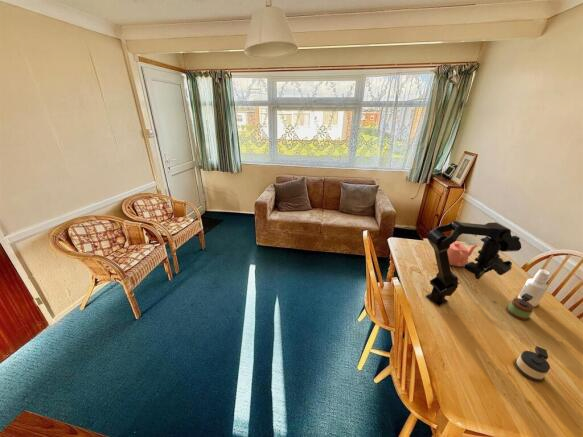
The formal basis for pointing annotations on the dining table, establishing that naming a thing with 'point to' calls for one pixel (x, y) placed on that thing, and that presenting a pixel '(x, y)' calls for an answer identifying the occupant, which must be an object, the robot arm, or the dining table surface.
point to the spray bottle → (536, 287)
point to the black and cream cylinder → (532, 366)
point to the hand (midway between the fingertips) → (477, 278)
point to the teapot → (459, 254)
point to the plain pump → (541, 353)
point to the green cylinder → (520, 309)
